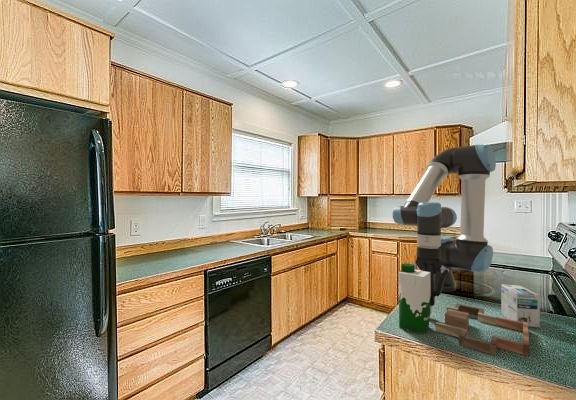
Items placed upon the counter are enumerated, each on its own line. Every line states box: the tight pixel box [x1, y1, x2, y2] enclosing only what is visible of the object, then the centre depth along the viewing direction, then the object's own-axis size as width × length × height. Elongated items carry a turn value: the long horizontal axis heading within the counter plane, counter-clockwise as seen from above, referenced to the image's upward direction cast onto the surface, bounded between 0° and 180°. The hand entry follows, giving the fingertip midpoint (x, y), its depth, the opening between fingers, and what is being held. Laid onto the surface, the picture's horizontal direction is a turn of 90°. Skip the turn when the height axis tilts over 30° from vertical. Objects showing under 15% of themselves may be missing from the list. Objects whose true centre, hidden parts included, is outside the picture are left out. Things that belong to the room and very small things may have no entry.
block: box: [444, 309, 470, 330], centre depth 96 cm, size 6×6×4 cm
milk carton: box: [397, 263, 431, 335], centre depth 94 cm, size 9×9×20 cm
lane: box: [434, 305, 530, 357], centre depth 92 cm, size 18×23×2 cm
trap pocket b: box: [458, 330, 498, 356], centre depth 82 cm, size 5×8×2 cm, turn 51°
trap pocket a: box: [454, 303, 485, 321], centre depth 104 cm, size 5×8×2 cm, turn 51°
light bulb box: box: [500, 283, 541, 328], centre depth 100 cm, size 11×7×11 cm, turn 168°
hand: (428, 314), depth 101 cm, fingers closed
